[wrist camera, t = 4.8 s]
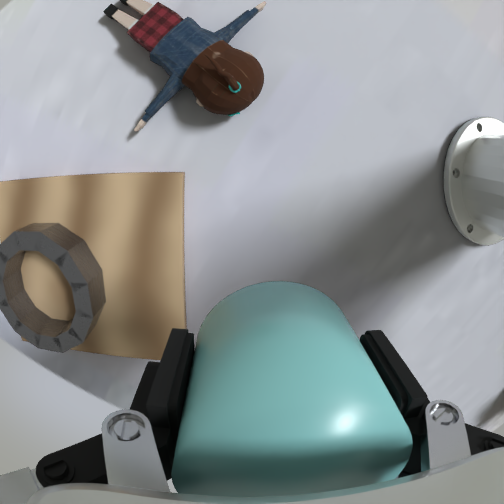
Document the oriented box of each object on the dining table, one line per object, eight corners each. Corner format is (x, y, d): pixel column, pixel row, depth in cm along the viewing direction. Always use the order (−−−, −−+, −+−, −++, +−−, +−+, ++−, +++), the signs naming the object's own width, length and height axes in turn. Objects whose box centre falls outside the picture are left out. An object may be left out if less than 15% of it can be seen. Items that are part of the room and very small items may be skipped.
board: (184, 172, 23) (182, 172, 22) (188, 355, 28) (186, 361, 27) (1, 181, 22) (-5, 182, 21) (26, 335, 26) (22, 340, 25)
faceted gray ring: (98, 222, 23) (82, 231, 20) (112, 339, 26) (101, 358, 23) (3, 223, 22) (-17, 231, 19) (23, 326, 25) (8, 341, 22)
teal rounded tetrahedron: (362, 282, 11) (448, 386, 5) (334, 403, 13) (371, 512, 7) (194, 278, 11) (153, 400, 5) (199, 404, 13) (185, 523, 7)
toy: (70, 71, 21) (190, 175, 23) (41, 58, 16) (176, 176, 19) (180, -38, 18) (313, 50, 21) (170, -67, 14) (326, 26, 16)
